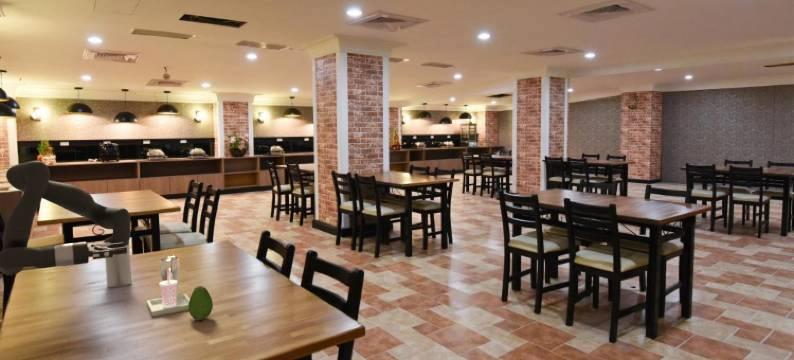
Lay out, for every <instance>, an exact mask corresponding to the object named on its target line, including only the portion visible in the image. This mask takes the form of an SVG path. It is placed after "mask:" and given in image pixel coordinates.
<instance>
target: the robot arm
mask: <svg viewBox="0 0 794 360" xmlns="http://www.w3.org/2000/svg"><path fill="white" fill-rule="evenodd" d="M5 177H6V180H7V182H8V183H9V184H10V185H11V186H12V187H13V188H14V189H16V190H17V191H20V192H23V194H22V196H21V198H20V199H19V200H18V202H17V204H16V205H15V207H14V208H13V209H12V211H11V212H10V213H9V215H8V216H7V217H8V218H7V219H6V223H5V226H4V230H3V235H2V242H3V243H2V245H3V246H2V250H1V251H0V273H2V274H3V275H6V276H14V275H17V274H19V273H20V272H22V270H24V268H28V267H31V268H32V267H35V268H36V269H47V268H48V269H49V268H56V267H71V266H77V265H84V264H85V265H86V264H88V263H89V262H90V261H89V259H90V258H92V260H100V259H105V273H106V275H105V276H106V286H107V287H108V288H120V287H126V286H128V285H130V284H132V270H131V269H132V268H131V267H132V266H131V252H130V251H131V250H130V239H131V230H132V227H131V222H132V221H131V220H132V219H131V215H130V212H129V210H128V209H126V208H123V207H107V206H104V205H103V204H100V203H98V202H96V201H95V199H94V197H93V196H92V195H91V194H90V193H89V192H87V191H86V190H84V189H82V188H81V187H78V186H76V185H73V184H69V183H63V182H59V181H58V182H57V181H54V180H50V179H51V178H50V177H51V172H50V168H49V167H48V165H47V164H46V163H45V162H43V161H41V160H31V161H27V162H23V163H19V164H16V165H15V164H14V165H13V166H11V167H10V168H8V169H7V171H6V173H5ZM42 199H44V200H46V201H48V202H50V203H52V204H54V205H57V206H58V207H60V208H62V209H65V210H67V211H69V212H71V213H74V214H76V215H79V216H81V217H83V218H86V219H88V220H89V221H92V222H93V223H95V224H96V225H98V226H99V227H101V228H102V229H106V230H112V234H111V236H110V237H107V238H105V239H104V242H102V243H92V244H90V246H88V245H89V244H88V242H87V241H79V242H71V243H70V242H69V243H61V244H57V245H52V246H51V245H49V246H42V247H31V246H29V247H28V245H29V240H30V237H31V232H32V228H33V224H34V223H33V222H34V219H35V215H36V214H37V213H36V212H37V210H38V208H39V205H40V202H41V200H42Z"/></svg>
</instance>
